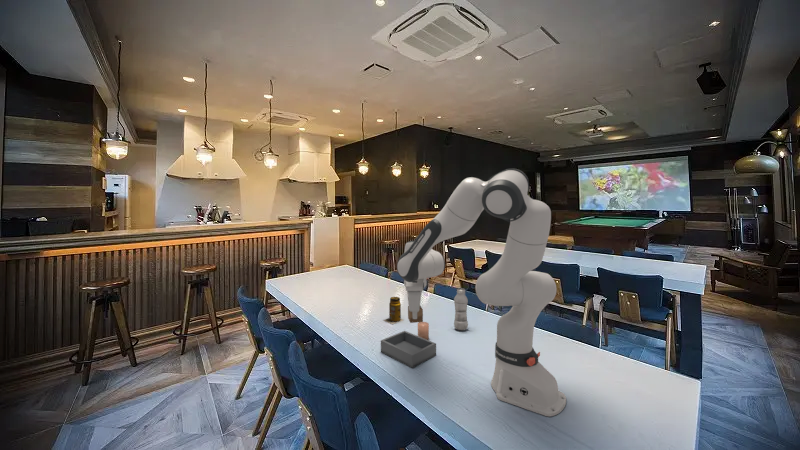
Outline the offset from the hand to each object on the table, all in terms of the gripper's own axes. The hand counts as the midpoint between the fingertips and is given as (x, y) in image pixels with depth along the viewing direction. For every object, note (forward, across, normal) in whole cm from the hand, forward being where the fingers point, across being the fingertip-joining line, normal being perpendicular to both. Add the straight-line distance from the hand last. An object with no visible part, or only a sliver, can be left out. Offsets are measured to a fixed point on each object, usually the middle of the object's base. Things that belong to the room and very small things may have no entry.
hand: (415, 315), depth 122 cm
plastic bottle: (+17, -29, +21) cm, 40 cm away
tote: (+17, -2, -3) cm, 18 cm away
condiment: (+17, -38, -13) cm, 44 cm away
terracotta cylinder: (+17, -17, +3) cm, 24 cm away
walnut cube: (+2, 0, 0) cm, 2 cm away
